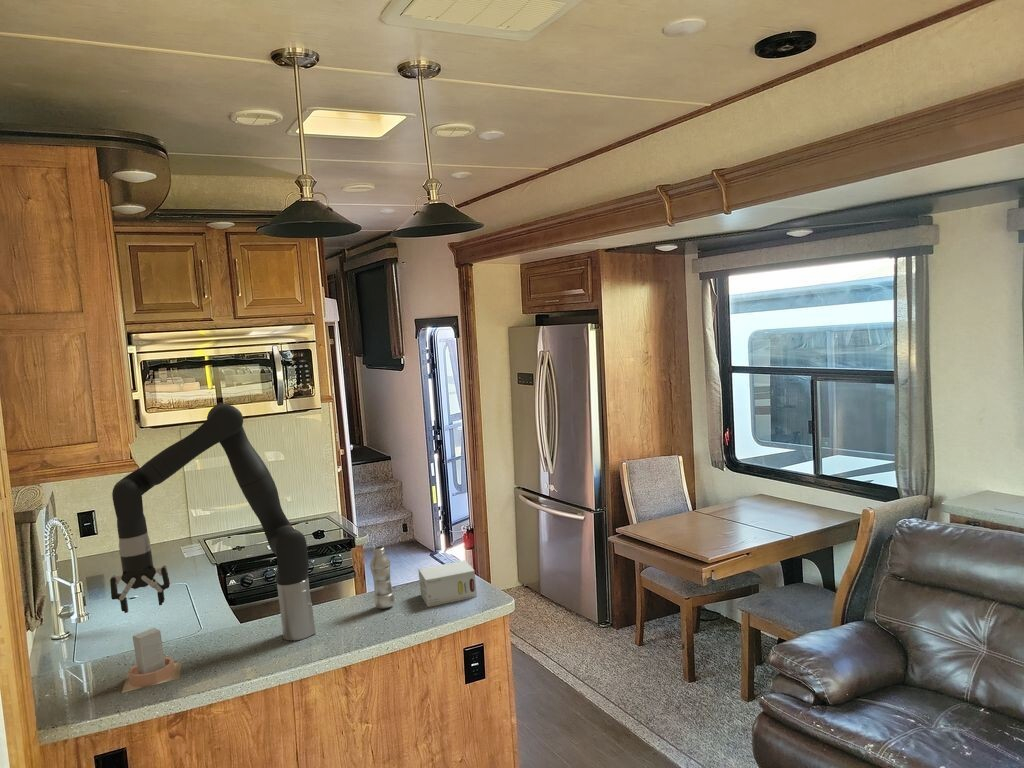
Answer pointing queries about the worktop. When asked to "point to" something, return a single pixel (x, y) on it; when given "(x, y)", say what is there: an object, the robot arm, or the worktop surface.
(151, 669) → the skincare box
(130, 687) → the cork mat
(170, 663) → the terracotta bowl
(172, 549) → the worktop surface
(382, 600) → the plastic bottle
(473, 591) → the supplement box
